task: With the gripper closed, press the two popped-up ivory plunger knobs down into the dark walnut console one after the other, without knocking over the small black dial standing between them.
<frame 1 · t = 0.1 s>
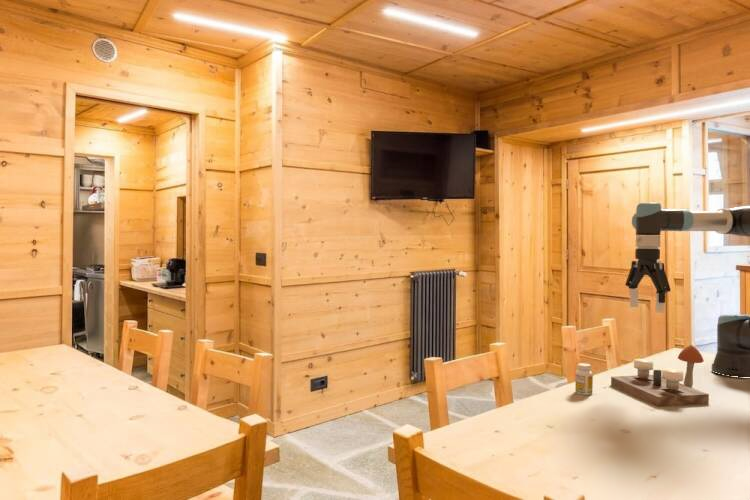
hand: (646, 309, 183), 28 cm above the table, fingers open, 13 cm apart
console: (657, 393, 179), on the table
mushroom: (689, 387, 187), on the table
knob 2: (672, 379, 172), point 7 cm above the table, slide at 4.0 cm
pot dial: (657, 384, 179), point 3 cm above the table, touching console
knob 1: (643, 368, 186), point 7 cm above the table, slide at 4.0 cm
supplement bottle: (583, 393, 180), on the table
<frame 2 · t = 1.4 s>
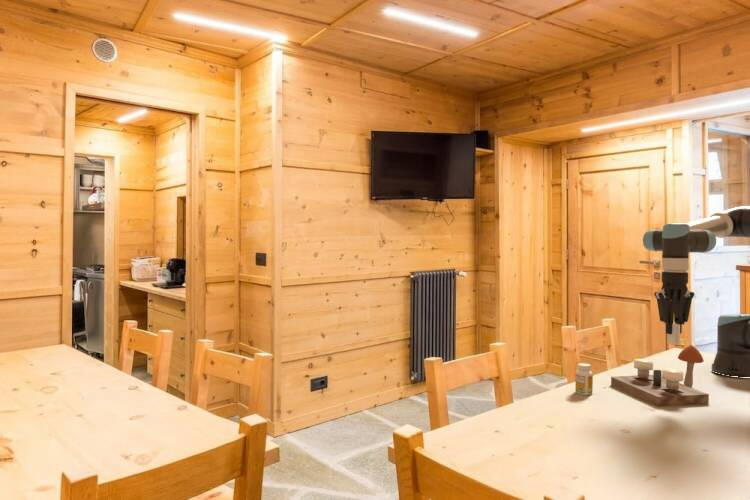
hand: (673, 343, 172), 18 cm above the table, fingers closed
nothing on the table moved.
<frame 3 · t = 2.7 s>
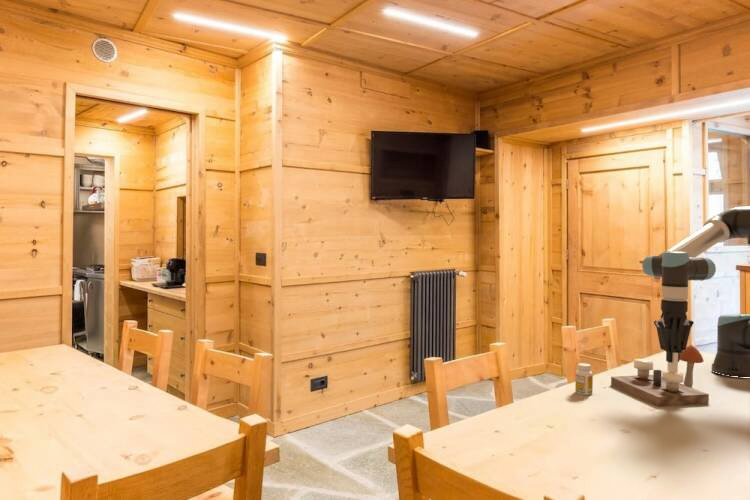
hand: (672, 371, 172), 9 cm above the table, fingers closed
knob 2: (672, 381, 172), point 6 cm above the table, slide at 3.5 cm, touching gripper
everything else where it was.
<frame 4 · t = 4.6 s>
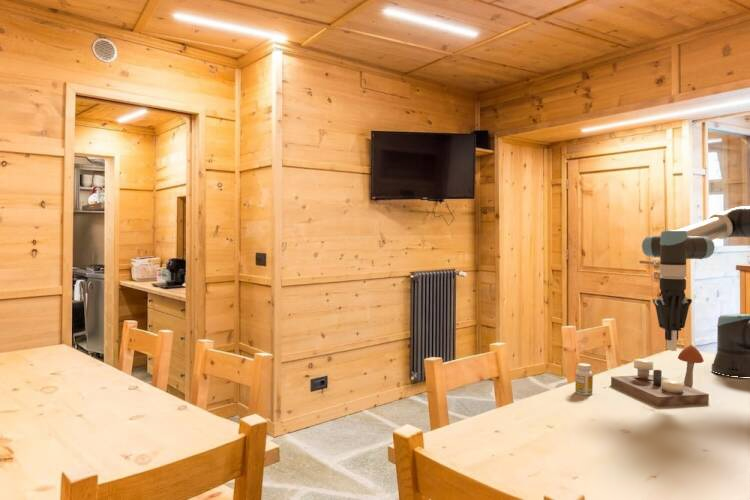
hand: (671, 349, 173), 16 cm above the table, fingers closed
knob 2: (672, 390, 172), point 3 cm above the table, slide at 0.4 cm
everything else where it was.
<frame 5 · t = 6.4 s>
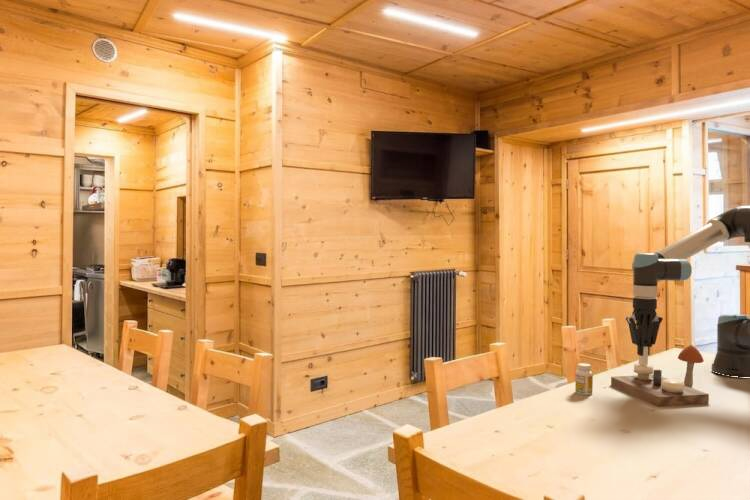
hand: (643, 364, 186), 8 cm above the table, fingers closed
knob 1: (643, 373, 186), point 5 cm above the table, slide at 2.5 cm, touching gripper
everything else where it was.
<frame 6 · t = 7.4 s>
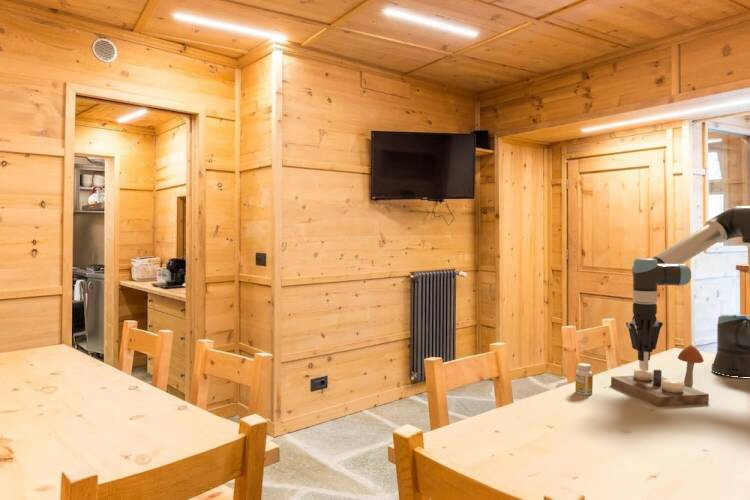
hand: (643, 369, 186), 6 cm above the table, fingers closed
knob 1: (643, 378, 186), point 3 cm above the table, slide at 0.4 cm
everything else where it was.
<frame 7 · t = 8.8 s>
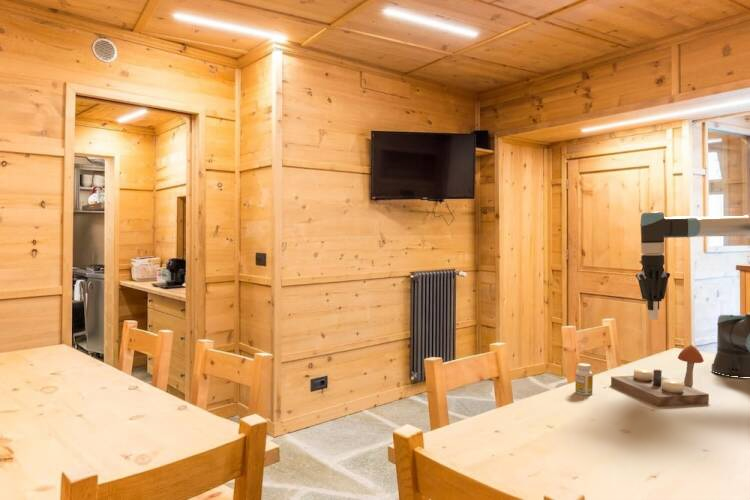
hand: (653, 318, 194), 23 cm above the table, fingers closed
nothing on the table moved.
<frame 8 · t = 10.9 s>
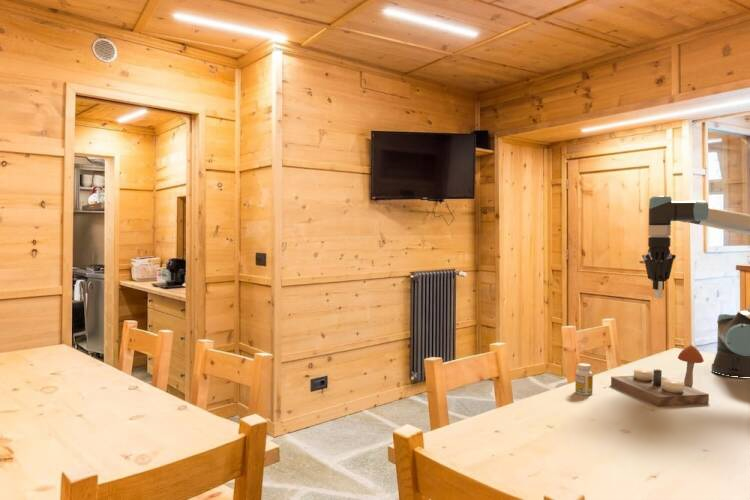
hand: (658, 297, 204), 29 cm above the table, fingers closed
nothing on the table moved.
at the end: knob 2 slide at 0.4 cm; knob 1 slide at 0.4 cm; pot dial tilted 0° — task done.
